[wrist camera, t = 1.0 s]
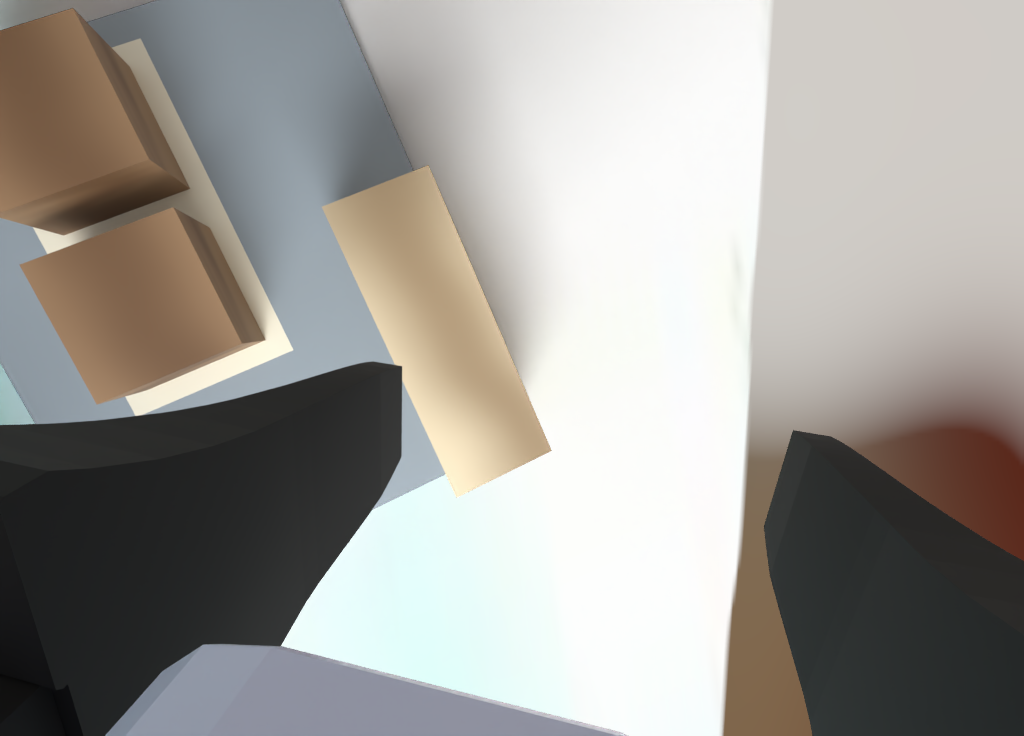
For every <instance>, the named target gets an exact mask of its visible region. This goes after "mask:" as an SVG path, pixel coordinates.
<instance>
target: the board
mask: <svg viewBox="0 0 1024 736" xmlns="http://www.w3.org/2000/svg"><path fill="white" fill-rule="evenodd" d="M87 23H88V24H89V25H90V26H91V27H92V28H93V29H94V30H95V31H96V32H97V33H98V34H99V35H100V36H101V37H102V39H103V40H104V41H105V42H106V43H107V44H108V45H109V46H110V47H111V48H112V49H113V50H114V51H115V52H116V53H117V54H118V55H119V56H120V57H121V58H122V59H123V60H124V61H125V62H126V63H127V64H128V65H129V66H130V68H131V70H132V72H133V74H134V76H135V78H136V80H137V82H138V84H139V86H140V88H141V90H142V92H143V94H144V96H145V98H146V100H147V102H148V104H149V106H150V108H151V110H152V112H153V115H154V117H155V119H156V121H157V123H158V125H159V127H160V129H161V131H162V133H163V135H164V137H165V139H166V141H167V143H168V145H169V147H170V149H171V151H172V153H173V155H174V157H175V159H176V161H177V163H178V165H179V167H180V169H181V171H182V173H183V175H184V177H185V179H186V181H187V183H188V185H189V187H190V189H188V190H185V191H183V192H180V193H177V194H175V195H172V196H169V197H167V198H164V199H161V200H158V201H156V202H153V203H150V204H148V205H145V206H142V207H140V208H137V209H134V210H131V211H129V212H126V213H123V214H121V215H118V216H115V217H113V218H110V219H107V220H105V221H102V222H99V223H96V224H94V225H91V226H88V227H86V228H83V229H80V230H78V231H75V232H72V233H69V234H67V235H64V236H63V235H60V234H56V233H53V232H49V231H45V230H42V229H38V228H35V227H31V226H27V225H24V224H20V223H17V222H13V221H10V220H6V219H2V218H0V363H1V365H2V367H3V368H4V370H5V372H6V374H7V375H8V377H9V379H10V381H11V382H12V384H13V386H14V388H15V389H16V391H17V393H18V394H19V396H20V398H21V400H22V401H23V403H24V405H25V407H26V408H27V410H28V412H29V414H30V415H31V417H32V419H33V421H34V422H35V424H50V423H68V422H82V421H96V420H106V419H115V418H123V417H131V416H139V415H147V414H156V413H164V412H170V411H176V410H182V409H187V408H193V407H198V406H203V405H209V404H213V403H218V402H223V401H227V400H231V399H236V398H239V397H243V396H247V395H250V394H254V393H258V392H262V391H265V390H269V389H273V388H276V387H280V386H284V385H287V384H291V383H294V382H297V381H300V380H304V379H307V378H310V377H313V376H317V375H320V374H323V373H327V372H330V371H333V370H337V369H340V368H344V367H347V366H351V365H355V364H359V363H364V362H372V361H374V362H380V363H386V364H392V365H395V364H394V362H393V359H392V357H391V355H390V353H389V351H388V349H387V347H386V344H385V342H384V340H383V338H382V336H381V334H380V331H379V329H378V327H377V325H376V323H375V321H374V319H373V316H372V314H371V312H370V310H369V308H368V306H367V304H366V301H365V299H364V297H363V295H362V293H361V291H360V288H359V286H358V284H357V282H356V280H355V278H354V276H353V273H352V271H351V269H350V267H349V265H348V263H347V260H346V258H345V256H344V254H343V252H342V250H341V248H340V245H339V243H338V241H337V239H336V237H335V235H334V232H333V230H332V228H331V226H330V224H329V222H328V220H327V217H326V215H325V213H324V211H323V209H322V206H325V205H328V204H330V203H333V202H335V201H338V200H340V199H343V198H345V197H348V196H351V195H353V194H356V193H358V192H361V191H363V190H366V189H369V188H371V187H374V186H376V185H379V184H381V183H384V182H386V181H389V180H392V179H394V178H397V177H399V176H402V175H404V174H407V173H410V172H412V171H413V169H412V166H411V164H410V162H409V160H408V157H407V155H406V153H405V150H404V148H403V146H402V143H401V141H400V139H399V137H398V134H397V132H396V130H395V127H394V125H393V123H392V120H391V118H390V116H389V114H388V111H387V109H386V107H385V104H384V102H383V100H382V97H381V95H380V93H379V91H378V88H377V86H376V84H375V81H374V79H373V77H372V75H371V72H370V70H369V68H368V65H367V63H366V61H365V58H364V56H363V54H362V52H361V49H360V47H359V45H358V42H357V40H356V38H355V35H354V33H353V31H352V29H351V26H350V24H349V22H348V19H347V17H346V15H345V13H344V10H343V8H342V6H341V3H340V1H339V0H156V1H153V2H150V3H147V4H143V5H140V6H137V7H134V8H131V9H127V10H124V11H121V12H118V13H115V14H112V15H108V16H105V17H102V18H99V19H96V20H92V21H89V22H87ZM172 207H174V208H176V209H178V210H179V211H181V212H183V213H185V214H186V215H188V216H190V217H192V218H193V219H195V220H197V221H199V222H201V223H202V224H204V225H206V226H208V227H209V228H210V229H211V231H212V233H213V235H214V237H215V239H216V241H217V243H218V245H219V247H220V249H221V251H222V253H223V255H224V257H225V259H226V261H227V263H228V265H229V267H230V269H231V271H232V273H233V275H234V277H235V279H236V281H237V283H238V285H239V287H240V289H241V291H242V293H243V295H244V298H245V300H246V302H247V304H248V306H249V308H250V310H251V312H252V314H253V316H254V318H255V320H256V322H257V324H258V326H259V328H260V330H261V332H262V334H263V336H264V338H265V341H262V342H260V343H258V344H255V345H253V346H251V347H248V348H246V349H244V350H241V351H239V352H236V353H234V354H232V355H229V356H227V357H225V358H222V359H220V360H217V361H215V362H213V363H210V364H208V365H206V366H203V367H201V368H199V369H196V370H194V371H191V372H189V373H187V374H184V375H182V376H180V377H177V378H175V379H173V380H170V381H168V382H165V383H163V384H161V385H158V386H156V387H154V388H151V389H149V390H146V391H143V392H139V393H136V394H132V395H129V396H125V397H122V398H118V399H115V400H111V401H108V402H104V403H101V404H96V402H95V401H94V399H93V397H92V395H91V393H90V392H89V390H88V388H87V386H86V384H85V383H84V381H83V379H82V377H81V375H80V373H79V372H78V370H77V368H76V366H75V364H74V363H73V361H72V359H71V357H70V355H69V354H68V352H67V350H66V348H65V346H64V345H63V343H62V341H61V339H60V337H59V336H58V334H57V332H56V330H55V328H54V327H53V325H52V323H51V321H50V319H49V318H48V316H47V314H46V312H45V310H44V309H43V307H42V305H41V303H40V301H39V300H38V298H37V296H36V294H35V292H34V291H33V289H32V287H31V285H30V283H29V282H28V280H27V278H26V276H25V274H24V272H23V271H22V269H21V267H20V264H23V263H25V262H28V261H31V260H33V259H36V258H39V257H41V256H44V255H47V254H49V253H52V252H55V251H57V250H60V249H63V248H65V247H68V246H71V245H73V244H76V243H79V242H81V241H84V240H87V239H89V238H92V237H95V236H97V235H100V234H103V233H105V232H108V231H111V230H113V229H116V228H119V227H121V226H124V225H127V224H129V223H132V222H135V221H138V220H140V219H143V218H146V217H148V216H151V215H154V214H156V213H159V212H162V211H164V210H167V209H170V208H172ZM443 475H445V471H444V469H443V467H442V465H441V463H440V461H439V459H438V456H437V454H436V452H435V450H434V448H433V446H432V443H431V441H430V439H429V437H428V435H427V433H426V431H425V428H424V426H423V424H422V422H421V420H420V418H419V415H418V413H417V411H416V409H415V407H414V405H413V403H412V400H411V398H410V396H409V394H408V392H407V390H406V387H405V385H404V383H403V381H402V456H401V459H400V461H399V463H398V465H397V467H396V469H395V471H394V473H393V475H392V477H391V479H390V481H389V483H388V485H387V487H386V489H385V491H384V492H383V494H382V496H381V498H380V499H379V501H378V502H377V503H376V505H375V506H374V508H373V509H375V508H377V507H379V506H381V505H383V504H385V503H387V502H389V501H391V500H393V499H395V498H398V497H400V496H402V495H404V494H406V493H408V492H410V491H412V490H414V489H416V488H418V487H420V486H422V485H424V484H426V483H428V482H430V481H433V480H435V479H437V478H439V477H441V476H443ZM373 509H372V510H373Z"/></svg>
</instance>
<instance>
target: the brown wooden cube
mask: <svg viewBox="0 0 1024 736" xmlns="http://www.w3.org/2000/svg"><path fill="white" fill-rule="evenodd" d="M20 267H21V269H22V271H23V272H24V274H25V276H26V278H27V280H28V282H29V283H30V285H31V287H32V289H33V291H34V292H35V294H36V296H37V298H38V300H39V301H40V303H41V305H42V307H43V309H44V310H45V312H46V314H47V316H48V318H49V319H50V321H51V323H52V325H53V327H54V328H55V330H56V332H57V334H58V336H59V337H60V339H61V341H62V343H63V345H64V346H65V348H66V350H67V352H68V354H69V355H70V357H71V359H72V361H73V363H74V364H75V366H76V368H77V370H78V372H79V373H80V375H81V377H82V379H83V381H84V383H85V384H86V386H87V388H88V390H89V392H90V393H91V395H92V397H93V399H94V401H95V402H96V404H101V403H104V402H108V401H111V400H115V399H118V398H122V397H125V396H129V395H132V394H136V393H139V392H143V391H146V390H149V389H151V388H154V387H156V386H158V385H161V384H163V383H165V382H168V381H170V380H173V379H175V378H177V377H180V376H182V375H184V374H187V373H189V372H191V371H194V370H196V369H199V368H201V367H203V366H206V365H208V364H210V363H213V362H215V361H217V360H220V359H222V358H225V357H227V356H229V355H232V354H234V353H236V352H239V351H241V350H244V349H246V348H248V347H251V346H253V345H255V344H258V343H260V342H262V341H265V338H264V336H263V334H262V332H261V330H260V328H259V326H258V324H257V322H256V320H255V318H254V316H253V314H252V312H251V310H250V308H249V306H248V304H247V302H246V300H245V298H244V295H243V293H242V291H241V289H240V287H239V285H238V283H237V281H236V279H235V277H234V275H233V273H232V271H231V269H230V267H229V265H228V263H227V261H226V259H225V257H224V255H223V253H222V251H221V249H220V247H219V245H218V243H217V241H216V239H215V237H214V235H213V233H212V231H211V229H210V228H209V227H208V226H206V225H204V224H202V223H201V222H199V221H197V220H195V219H193V218H192V217H190V216H188V215H186V214H185V213H183V212H181V211H179V210H178V209H176V208H174V207H172V208H170V209H167V210H164V211H162V212H159V213H156V214H154V215H151V216H148V217H146V218H143V219H140V220H138V221H135V222H132V223H129V224H127V225H124V226H121V227H119V228H116V229H113V230H111V231H108V232H105V233H103V234H100V235H97V236H95V237H92V238H89V239H87V240H84V241H81V242H79V243H76V244H73V245H71V246H68V247H65V248H63V249H60V250H57V251H55V252H52V253H49V254H47V255H44V256H41V257H39V258H36V259H33V260H31V261H28V262H25V263H23V264H20Z"/></svg>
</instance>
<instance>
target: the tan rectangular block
mask: <svg viewBox="0 0 1024 736" xmlns="http://www.w3.org/2000/svg"><path fill="white" fill-rule="evenodd" d="M322 209H323V211H324V213H325V215H326V217H327V220H328V222H329V224H330V226H331V228H332V230H333V232H334V235H335V237H336V239H337V241H338V243H339V245H340V248H341V250H342V252H343V254H344V256H345V258H346V260H347V263H348V265H349V267H350V269H351V271H352V273H353V276H354V278H355V280H356V282H357V284H358V286H359V288H360V291H361V293H362V295H363V297H364V299H365V301H366V304H367V306H368V308H369V310H370V312H371V314H372V316H373V319H374V321H375V323H376V325H377V327H378V329H379V331H380V334H381V336H382V338H383V340H384V342H385V344H386V347H387V349H388V351H389V353H390V355H391V357H392V359H393V362H394V364H395V365H398V366H402V381H403V383H404V385H405V387H406V390H407V392H408V394H409V396H410V398H411V400H412V403H413V405H414V407H415V409H416V411H417V413H418V415H419V418H420V420H421V422H422V424H423V426H424V428H425V431H426V433H427V435H428V437H429V439H430V441H431V443H432V446H433V448H434V450H435V452H436V454H437V456H438V459H439V461H440V463H441V465H442V467H443V469H444V471H445V474H446V476H447V478H448V480H449V482H450V484H451V487H452V489H453V491H454V493H455V495H456V497H459V496H461V495H463V494H465V493H467V492H469V491H471V490H473V489H475V488H477V487H479V486H481V485H483V484H485V483H487V482H489V481H491V480H493V479H495V478H497V477H499V476H501V475H503V474H505V473H507V472H509V471H511V470H513V469H516V468H518V467H520V466H522V465H524V464H526V463H528V462H530V461H532V460H534V459H536V458H538V457H540V456H542V455H544V454H546V453H548V452H550V451H551V448H550V446H549V444H548V441H547V439H546V437H545V434H544V432H543V430H542V427H541V425H540V423H539V421H538V418H537V416H536V414H535V411H534V409H533V407H532V404H531V402H530V400H529V397H528V395H527V393H526V390H525V388H524V386H523V383H522V381H521V379H520V376H519V374H518V372H517V369H516V367H515V365H514V362H513V360H512V358H511V356H510V353H509V351H508V349H507V346H506V344H505V342H504V339H503V337H502V335H501V332H500V330H499V328H498V325H497V323H496V321H495V318H494V316H493V314H492V311H491V309H490V307H489V304H488V302H487V300H486V297H485V295H484V293H483V291H482V288H481V286H480V284H479V281H478V279H477V277H476V274H475V272H474V270H473V267H472V265H471V263H470V260H469V258H468V256H467V253H466V251H465V249H464V246H463V244H462V242H461V239H460V237H459V235H458V232H457V230H456V228H455V225H454V223H453V221H452V219H451V216H450V214H449V212H448V209H447V207H446V205H445V202H444V200H443V198H442V195H441V193H440V191H439V188H438V186H437V184H436V181H435V179H434V177H433V174H432V172H431V170H430V167H429V165H427V166H425V167H422V168H420V169H417V170H415V171H412V172H410V173H407V174H404V175H402V176H399V177H397V178H394V179H392V180H389V181H386V182H384V183H381V184H379V185H376V186H374V187H371V188H369V189H366V190H363V191H361V192H358V193H356V194H353V195H351V196H348V197H345V198H343V199H340V200H338V201H335V202H333V203H330V204H328V205H325V206H322Z"/></svg>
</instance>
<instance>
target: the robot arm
mask: <svg viewBox="0 0 1024 736" xmlns="http://www.w3.org/2000/svg"><path fill="white" fill-rule="evenodd" d="M401 456H402V366H398V365H392V364H386V363H380V362H374V361H372V362H364V363H359V364H355V365H351V366H347V367H344V368H340V369H337V370H333V371H330V372H327V373H323V374H320V375H317V376H313V377H310V378H307V379H304V380H300V381H297V382H294V383H291V384H287V385H284V386H280V387H276V388H273V389H269V390H265V391H262V392H258V393H254V394H250V395H247V396H243V397H239V398H236V399H231V400H227V401H223V402H218V403H213V404H209V405H203V406H198V407H193V408H187V409H182V410H176V411H170V412H164V413H156V414H147V415H139V416H131V417H123V418H115V419H106V420H96V421H82V422H68V423H50V424H28V425H0V736H627V735H625V734H623V733H620V732H617V731H613V730H609V729H605V728H602V727H598V726H594V725H590V724H586V723H582V722H578V721H574V720H570V719H566V718H562V717H558V716H554V715H550V714H546V713H542V712H538V711H534V710H531V709H527V708H523V707H519V706H515V705H511V704H507V703H503V702H499V701H495V700H491V699H487V698H483V697H479V696H475V695H471V694H467V693H463V692H460V691H456V690H452V689H448V688H444V687H440V686H436V685H432V684H428V683H424V682H420V681H416V680H412V679H408V678H404V677H400V676H396V675H393V674H389V673H385V672H381V671H377V670H373V669H369V668H365V667H361V666H357V665H353V664H349V663H345V662H341V661H337V660H333V659H329V658H325V657H322V656H318V655H314V654H310V653H306V652H302V651H298V650H294V649H290V648H286V647H282V646H281V645H282V643H283V641H284V639H285V638H286V636H287V634H288V632H289V631H290V629H291V627H292V625H293V624H294V622H295V620H296V618H297V617H298V615H299V613H300V611H301V610H302V608H303V606H304V605H305V603H306V601H307V600H308V598H309V597H310V595H311V594H312V592H313V591H314V589H315V588H316V586H317V585H318V583H319V582H320V580H321V579H322V578H323V576H324V575H325V574H326V572H327V571H328V570H329V568H330V567H331V565H332V564H333V563H334V561H335V560H336V559H337V557H338V556H339V554H340V553H341V552H342V550H343V549H344V548H345V546H346V545H347V544H348V542H349V541H350V539H351V538H352V537H353V535H354V534H355V533H356V531H357V530H358V529H359V527H360V526H361V524H362V523H363V522H364V520H365V519H366V517H367V516H368V515H369V513H370V512H371V510H372V509H373V508H374V506H375V505H376V503H377V502H378V501H379V499H380V498H381V496H382V494H383V492H384V491H385V489H386V487H387V485H388V483H389V481H390V479H391V477H392V475H393V473H394V471H395V469H396V467H397V465H398V463H399V461H400V459H401ZM764 531H765V539H766V549H767V557H768V564H769V571H770V577H771V581H772V585H773V589H774V592H775V596H776V599H777V603H778V607H779V610H780V614H781V618H782V621H783V624H784V628H785V631H786V635H787V638H788V642H789V645H790V649H791V652H792V656H793V659H794V663H795V666H796V670H797V673H798V677H799V680H800V684H801V687H802V691H803V694H804V698H805V703H806V707H807V711H808V715H809V719H810V724H811V729H812V735H813V736H1024V561H1023V560H1021V559H1019V558H1017V557H1015V556H1013V555H1012V554H1010V553H1008V552H1006V551H1005V550H1003V549H1001V548H1000V547H998V546H996V545H995V544H993V543H991V542H990V541H987V540H986V539H985V538H982V537H981V536H980V535H978V534H977V533H975V532H973V531H972V530H970V529H969V528H967V527H965V526H964V525H962V524H961V523H959V522H958V521H956V520H955V519H953V518H951V517H950V516H948V515H947V514H945V513H944V512H942V511H941V510H939V509H938V508H936V507H935V506H933V505H932V504H930V503H929V502H927V501H926V500H924V499H923V498H921V497H920V496H919V495H917V494H916V493H914V492H913V491H911V490H910V489H909V488H907V487H906V486H904V485H903V484H901V483H900V482H899V481H897V480H896V479H894V478H893V477H892V476H890V475H889V474H887V473H886V472H885V471H883V470H882V469H880V468H879V467H877V466H876V465H875V464H873V463H872V462H870V461H869V460H868V459H866V458H865V457H863V456H862V455H860V454H859V453H857V452H856V451H854V450H853V449H851V448H850V447H848V446H847V445H845V444H844V443H842V442H840V441H838V440H836V439H834V438H832V437H830V436H824V435H818V434H812V433H806V432H800V431H793V432H792V436H791V439H790V442H789V446H788V449H787V452H786V456H785V459H784V462H783V465H782V469H781V472H780V475H779V478H778V482H777V485H776V489H775V492H774V495H773V498H772V502H771V505H770V508H769V511H768V515H767V518H766V521H765V525H764Z"/></svg>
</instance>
